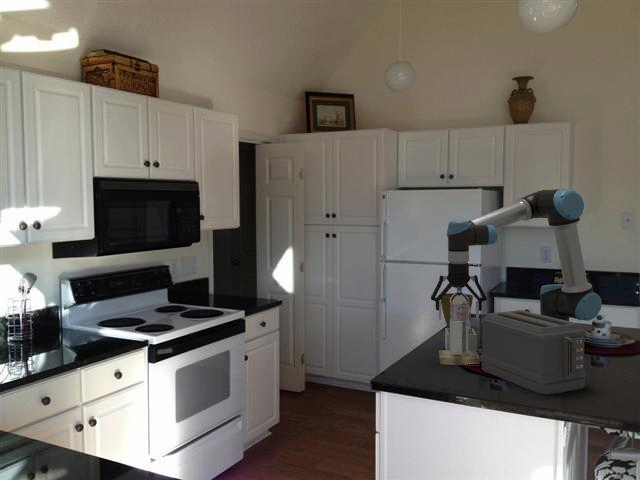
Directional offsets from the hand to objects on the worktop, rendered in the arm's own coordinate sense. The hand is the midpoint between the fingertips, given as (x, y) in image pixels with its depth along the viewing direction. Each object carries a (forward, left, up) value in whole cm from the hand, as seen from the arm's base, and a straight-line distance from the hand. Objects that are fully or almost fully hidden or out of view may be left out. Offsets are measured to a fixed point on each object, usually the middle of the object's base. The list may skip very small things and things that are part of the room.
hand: (458, 319), depth 218 cm
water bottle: (0, 0, -13) cm, 13 cm away
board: (0, 0, -16) cm, 16 cm away
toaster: (-22, +19, -16) cm, 33 cm away
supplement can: (-4, -34, -16) cm, 38 cm away
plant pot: (-4, -54, -16) cm, 56 cm away
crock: (-2, -14, -16) cm, 21 cm away
